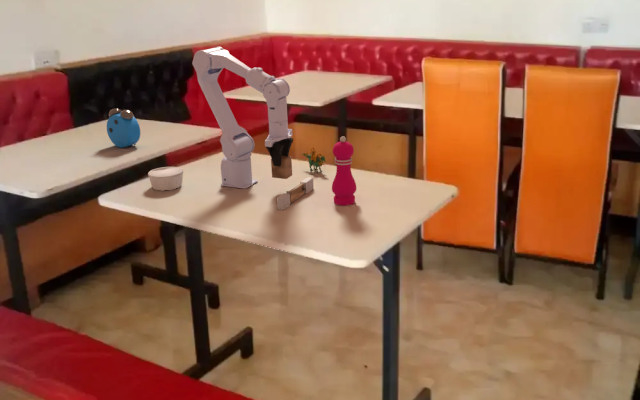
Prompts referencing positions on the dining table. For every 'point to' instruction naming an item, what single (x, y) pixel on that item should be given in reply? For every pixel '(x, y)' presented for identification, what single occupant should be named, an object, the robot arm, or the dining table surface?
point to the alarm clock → (123, 128)
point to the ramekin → (166, 178)
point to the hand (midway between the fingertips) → (280, 163)
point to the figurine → (315, 159)
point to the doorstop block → (282, 168)
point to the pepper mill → (343, 174)
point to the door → (297, 192)
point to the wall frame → (284, 199)
